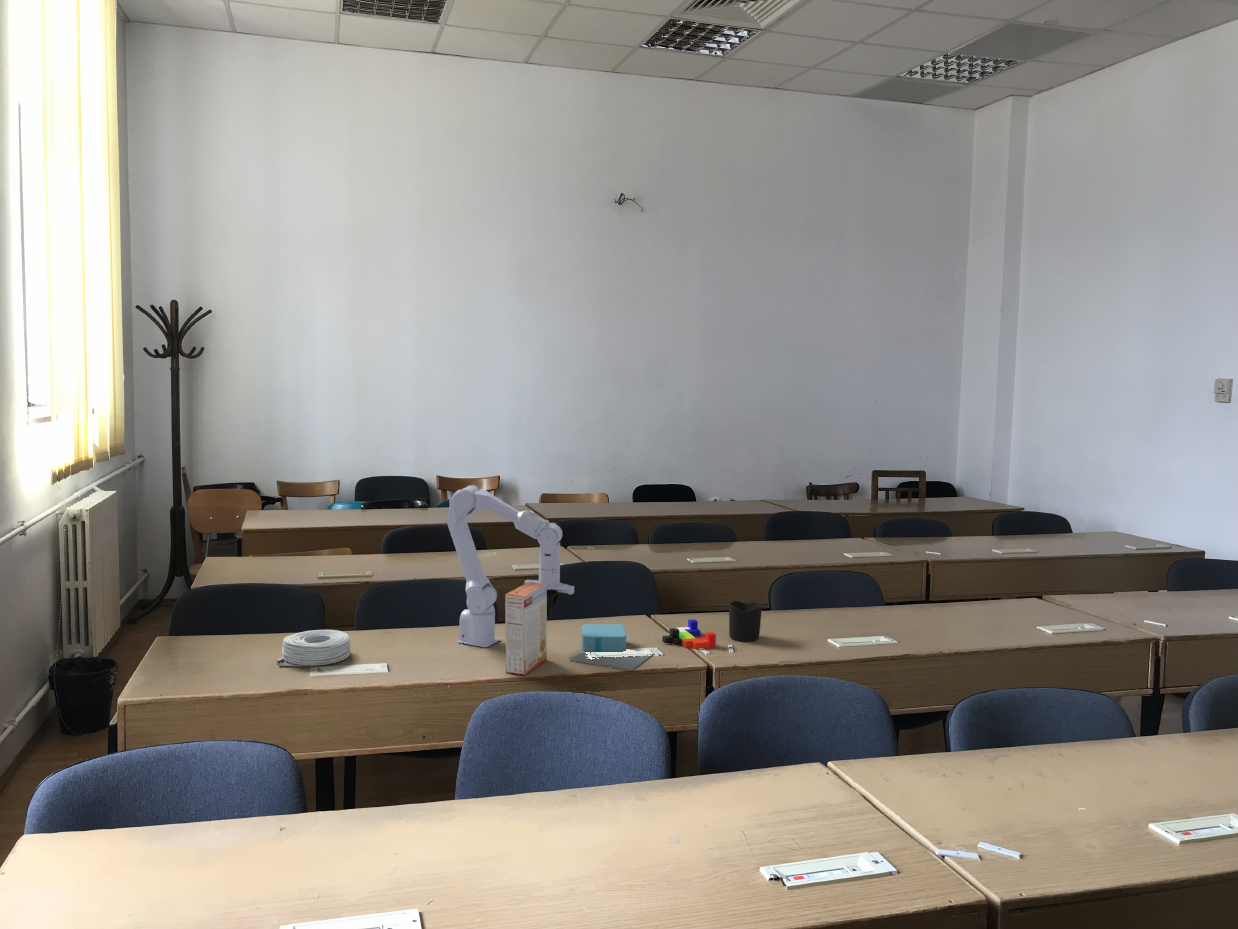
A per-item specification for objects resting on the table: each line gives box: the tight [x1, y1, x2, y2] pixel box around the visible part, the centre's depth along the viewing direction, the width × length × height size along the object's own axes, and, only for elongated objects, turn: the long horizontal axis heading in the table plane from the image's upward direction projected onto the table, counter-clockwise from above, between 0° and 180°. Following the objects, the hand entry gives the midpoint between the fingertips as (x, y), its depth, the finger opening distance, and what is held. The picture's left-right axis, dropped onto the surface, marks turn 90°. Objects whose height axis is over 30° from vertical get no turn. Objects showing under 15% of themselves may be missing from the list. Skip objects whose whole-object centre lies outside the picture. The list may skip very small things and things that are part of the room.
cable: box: [276, 629, 351, 667], centre depth 250 cm, size 18×18×6 cm
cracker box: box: [504, 582, 548, 676], centre depth 246 cm, size 14×6×21 cm, turn 160°
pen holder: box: [728, 600, 763, 643], centre depth 275 cm, size 9×9×10 cm
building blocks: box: [661, 618, 717, 650], centre depth 271 cm, size 15×13×4 cm
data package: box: [581, 623, 627, 652], centre depth 264 cm, size 12×4×12 cm
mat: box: [569, 652, 651, 672], centre depth 256 cm, size 18×16×1 cm
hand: (548, 616), depth 262 cm, fingers closed
